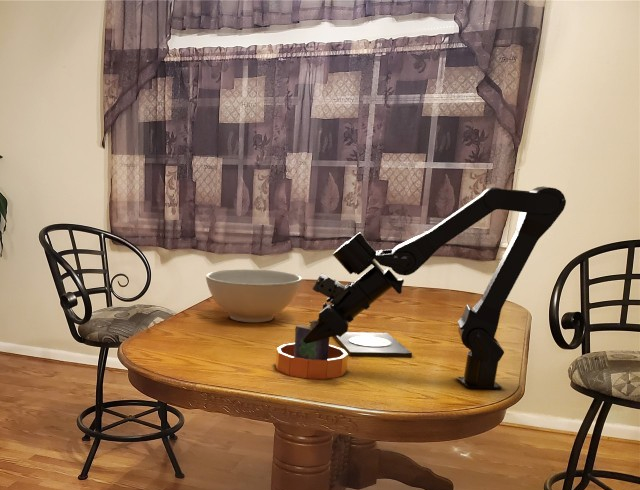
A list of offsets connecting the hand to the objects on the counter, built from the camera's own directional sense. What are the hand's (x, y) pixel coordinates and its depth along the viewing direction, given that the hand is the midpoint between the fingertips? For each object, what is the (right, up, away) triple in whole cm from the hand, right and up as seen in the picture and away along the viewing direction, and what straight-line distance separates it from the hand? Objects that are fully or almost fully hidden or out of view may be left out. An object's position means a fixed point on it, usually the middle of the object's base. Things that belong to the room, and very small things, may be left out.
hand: (305, 338), depth 148 cm
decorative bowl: (-3, +9, +51) cm, 52 cm away
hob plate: (+21, 0, +20) cm, 29 cm away
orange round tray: (+1, -7, +2) cm, 7 cm away
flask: (+1, -7, +2) cm, 7 cm away
